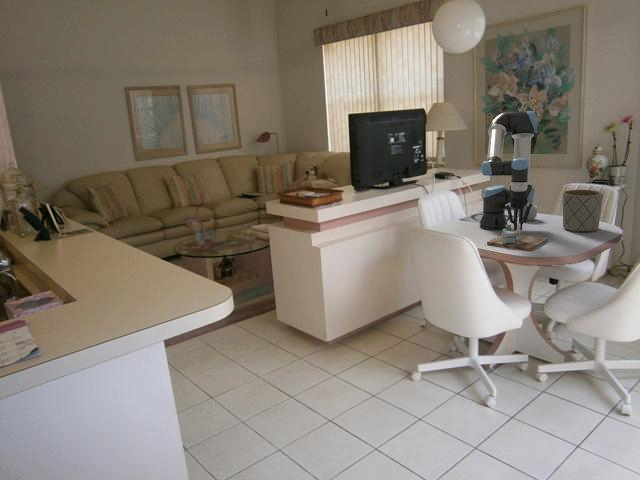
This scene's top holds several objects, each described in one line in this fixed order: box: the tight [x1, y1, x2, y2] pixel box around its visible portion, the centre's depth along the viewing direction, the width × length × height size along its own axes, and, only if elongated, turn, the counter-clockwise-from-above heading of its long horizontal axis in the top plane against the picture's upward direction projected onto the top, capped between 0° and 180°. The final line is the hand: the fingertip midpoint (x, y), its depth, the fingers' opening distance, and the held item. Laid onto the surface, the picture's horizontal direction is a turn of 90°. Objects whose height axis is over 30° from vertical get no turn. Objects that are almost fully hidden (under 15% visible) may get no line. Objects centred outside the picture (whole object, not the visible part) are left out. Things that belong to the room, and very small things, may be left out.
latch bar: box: [502, 227, 516, 243], centre depth 254 cm, size 20×6×2 cm, turn 164°
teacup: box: [518, 204, 538, 221], centre depth 297 cm, size 14×11×8 cm
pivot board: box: [486, 224, 549, 252], centre depth 250 cm, size 22×21×7 cm
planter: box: [562, 189, 604, 233], centre depth 266 cm, size 19×19×20 cm
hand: (517, 236), depth 251 cm, fingers closed
